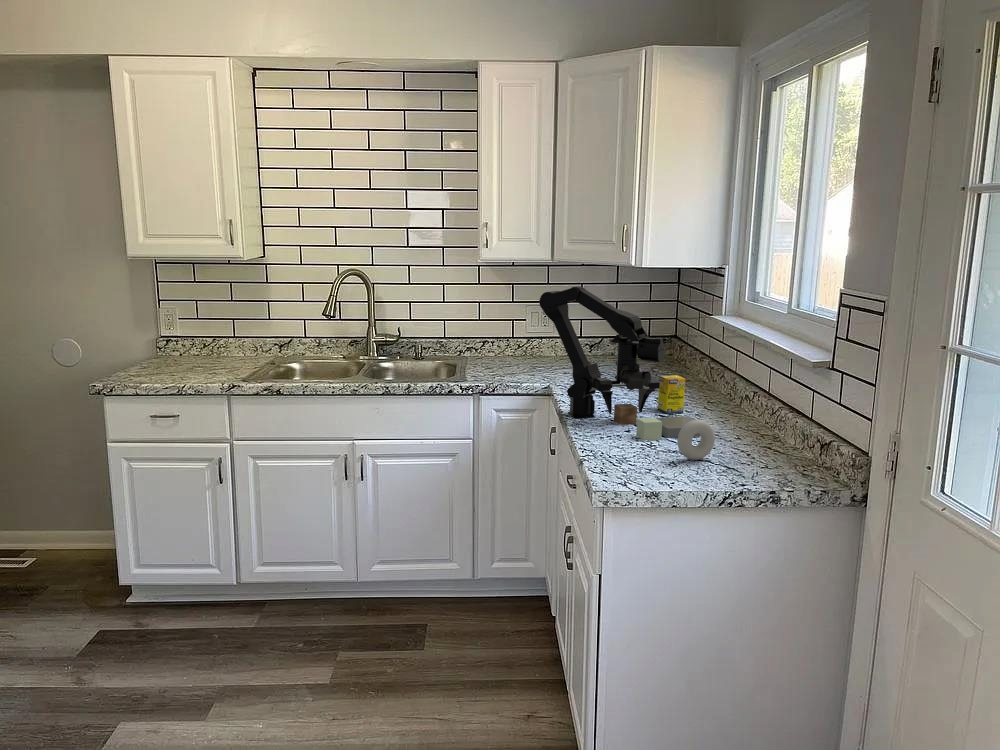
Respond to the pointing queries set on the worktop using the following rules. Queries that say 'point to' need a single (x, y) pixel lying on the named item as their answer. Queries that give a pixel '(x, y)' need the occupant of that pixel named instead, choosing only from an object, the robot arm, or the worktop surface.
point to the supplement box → (671, 394)
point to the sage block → (649, 428)
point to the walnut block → (625, 414)
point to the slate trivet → (674, 425)
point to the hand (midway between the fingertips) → (625, 412)
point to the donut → (705, 442)
